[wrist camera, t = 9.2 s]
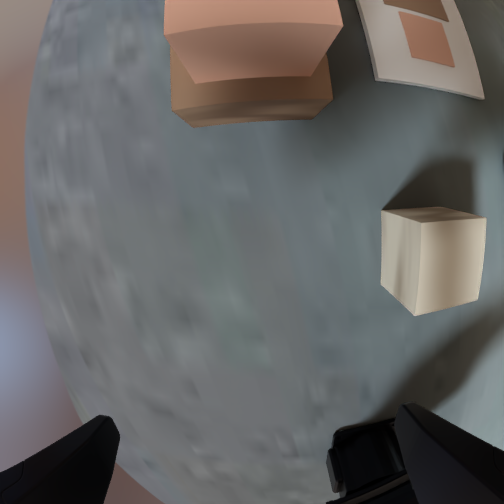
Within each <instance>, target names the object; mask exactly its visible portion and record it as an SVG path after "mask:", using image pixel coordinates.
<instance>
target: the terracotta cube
mask: <svg viewBox="0 0 504 504" xmlns="http://www.w3.org/2000/svg"><path fill="white" fill-rule="evenodd" d="M342 27H343V22H342V18H341V13H340V9H339V5H338V1H337V0H165V13H164V36H165V38H166V39H167V41H168V42H169V44H170V45H171V47H172V48H173V50H174V51H175V53H176V54H177V56H178V57H179V59H180V60H181V62H182V64H183V65H184V67H185V68H186V70H187V71H188V73H189V75H190V76H191V78H192V79H193V81H194V82H195V84H198V83H205V82H213V81H221V80H231V79H243V78H257V77H282V76H311V75H312V74H313V72H314V70H315V69H316V67H317V66H318V64H319V63H320V61H321V59H322V58H323V56H324V55H325V53H326V52H327V50H328V49H329V47H330V45H331V44H332V42H333V41H334V39H335V38H336V36H337V35H338V33H339V32H340V30H341V29H342Z"/></svg>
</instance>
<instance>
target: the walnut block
mask: <svg viewBox="0 0 504 504" xmlns="http://www.w3.org/2000/svg"><path fill="white" fill-rule="evenodd" d="M170 72H171V104H172V111H173V112H174V113H175V114H177V115H178V116H179V117H180V118H182V119H183V120H184V121H185V122H187V123H188V124H189V125H190V126H191V127H193V128H196V127H204V126H212V125H221V124H231V123H243V122H256V121H274V120H311V119H313V118H314V117H315V116H316V115H317V114H318V113H319V112H320V111H321V110H322V109H323V108H325V107H326V106H327V105H328V104H329V103H330V102H331V101H332V100H333V94H332V86H331V79H330V72H329V65H328V59H327V53H325V55H324V56H323V58H322V59H321V61H320V63H319V64H318V66H317V67H316V69H315V70H314V72H313V74H312V75H311V76H282V77H257V78H243V79H231V80H221V81H213V82H205V83H198V84H195V82H194V81H193V79H192V78H191V76H190V75H189V73H188V71H187V70H186V68H185V67H184V65H183V64H182V62H181V60H180V59H179V57H178V56H177V54H176V53H175V51H174V50H173V48H172V47H171V45H170Z"/></svg>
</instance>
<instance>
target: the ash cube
mask: <svg viewBox="0 0 504 504" xmlns="http://www.w3.org/2000/svg"><path fill="white" fill-rule="evenodd" d="M381 225H382V259H381V285H382V286H383V287H384V288H385V289H386V290H387V291H389V292H390V293H391V294H392V295H393V296H394V297H395V298H396V299H397V300H398V301H399V302H400V303H401V304H403V305H404V306H405V307H406V308H407V309H408V310H409V311H410V312H411V313H412V314H413V315H414V316H417V315H421V314H426V313H430V312H434V311H438V310H442V309H446V308H450V307H454V306H458V305H461V304H465V303H469V302H472V301H476V300H478V295H479V289H480V283H481V276H482V268H483V260H484V250H485V237H486V218H485V217H481V216H477V215H474V214H470V213H466V212H462V211H457V210H453V209H449V208H445V207H425V208H408V209H392V210H381Z"/></svg>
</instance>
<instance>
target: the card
mask: <svg viewBox="0 0 504 504" xmlns="http://www.w3.org/2000/svg"><path fill="white" fill-rule="evenodd" d="M355 2H356V5H357V8H358V11H359V15H360V18H361V22H362V25H363V29H364V33H365V37H366V41H367V45H368V49H369V53H370V58H371V62H372V67H373V72H374V77H375V81H383V82H392V83H399V84H407V85H413V86H419V87H425V88H431V89H436V90H441V91H446V92H450V93H455V94H459V95H463V96H467V97H471V98H475V99H478V100H483V99H485V97H484V92H483V88H482V83H481V79H480V75H479V71H478V67H477V64H476V60H475V56H474V53H473V50H472V47H471V44H470V40H469V38H468V35H467V32H466V29H465V26H464V24H463V21H462V18H461V16H460V13H459V11H458V9H457V6H456V4H455V2H454V0H355Z"/></svg>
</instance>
